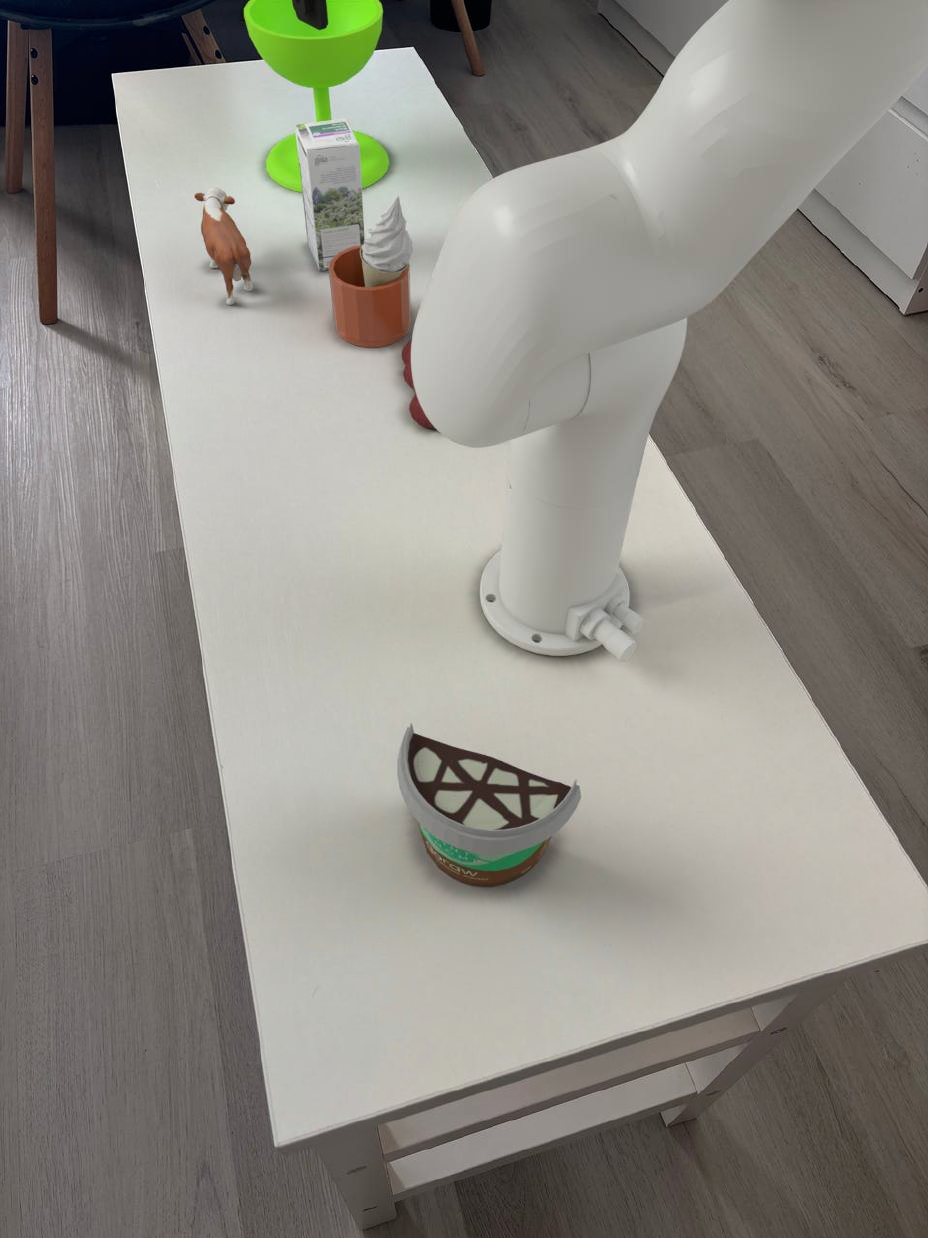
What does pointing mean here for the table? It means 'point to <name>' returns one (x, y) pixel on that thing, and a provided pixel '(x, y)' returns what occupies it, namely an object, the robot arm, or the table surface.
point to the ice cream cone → (386, 249)
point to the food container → (480, 810)
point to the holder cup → (367, 303)
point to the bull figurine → (224, 240)
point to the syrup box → (330, 188)
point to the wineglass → (317, 69)
